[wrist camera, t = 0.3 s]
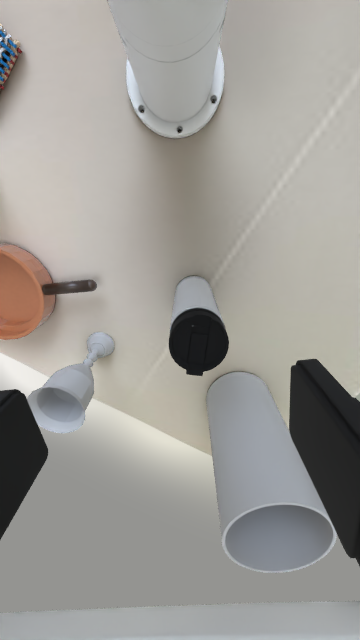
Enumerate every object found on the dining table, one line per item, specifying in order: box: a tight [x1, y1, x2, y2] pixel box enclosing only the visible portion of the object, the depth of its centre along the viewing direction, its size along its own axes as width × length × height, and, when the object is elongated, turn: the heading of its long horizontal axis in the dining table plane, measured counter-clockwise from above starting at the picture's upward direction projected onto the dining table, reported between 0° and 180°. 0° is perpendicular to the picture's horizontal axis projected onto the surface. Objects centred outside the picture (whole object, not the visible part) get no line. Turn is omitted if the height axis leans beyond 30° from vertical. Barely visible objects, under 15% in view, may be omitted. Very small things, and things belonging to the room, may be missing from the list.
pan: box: [0, 243, 55, 340], centre depth 43 cm, size 15×15×4 cm
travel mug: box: [169, 276, 229, 376], centre depth 35 cm, size 6×7×20 cm
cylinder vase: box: [206, 372, 337, 573], centre depth 41 cm, size 12×12×25 cm
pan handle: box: [42, 280, 97, 295], centre depth 41 cm, size 9×2×2 cm, turn 96°
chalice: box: [27, 332, 114, 433], centre depth 40 cm, size 7×7×18 cm
